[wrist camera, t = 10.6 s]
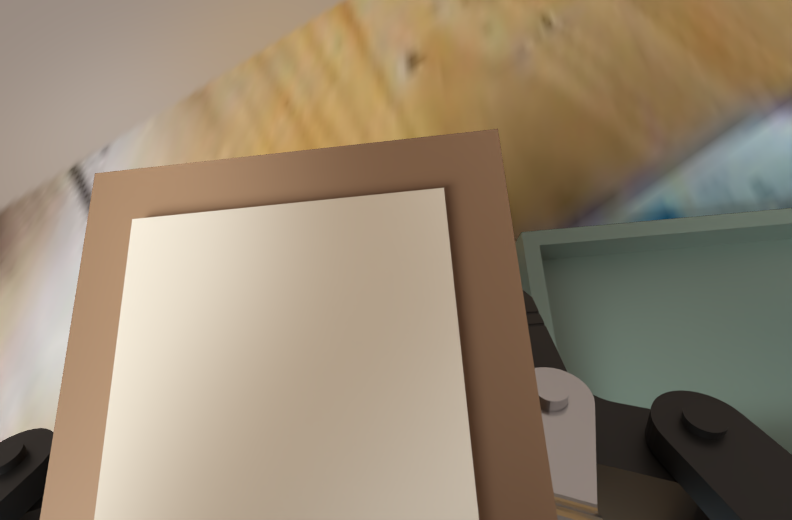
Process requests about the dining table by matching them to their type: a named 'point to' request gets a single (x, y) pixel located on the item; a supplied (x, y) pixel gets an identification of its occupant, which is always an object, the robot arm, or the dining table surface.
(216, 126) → the dining table surface
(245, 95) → the dining table surface
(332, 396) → the label box
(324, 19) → the dining table surface
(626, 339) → the parts bin
